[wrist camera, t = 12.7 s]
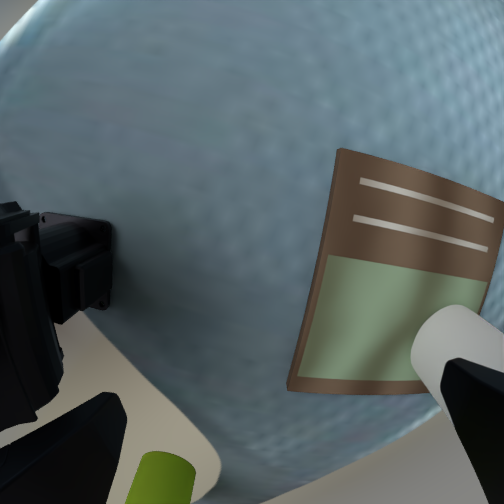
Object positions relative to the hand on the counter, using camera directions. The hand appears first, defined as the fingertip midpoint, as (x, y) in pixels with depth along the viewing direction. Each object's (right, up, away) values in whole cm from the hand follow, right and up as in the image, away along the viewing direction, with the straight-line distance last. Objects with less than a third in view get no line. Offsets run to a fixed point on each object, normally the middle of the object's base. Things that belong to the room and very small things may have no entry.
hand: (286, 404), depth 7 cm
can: (+14, -3, +13) cm, 19 cm away
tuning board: (+10, +1, +13) cm, 17 cm away
